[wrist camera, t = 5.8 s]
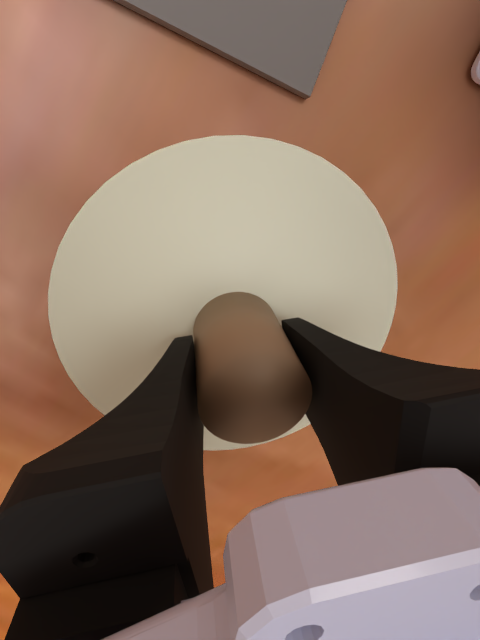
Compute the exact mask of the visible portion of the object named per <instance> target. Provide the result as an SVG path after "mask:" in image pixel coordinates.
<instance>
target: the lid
mask: <svg viewBox="0 0 480 640" xmlns="http://www.w3.org/2000/svg"><path fill="white" fill-rule="evenodd" d="M397 288H398V282H397V265H396V260H395V255H394V250H393V245H392V242H391V240H390V237H389V234H388V231H387V228H386V226H385V224H384V222H383V220H382V218H381V217H380V215H379V213H378V211H377V209H376V207H375V206H374V205H373V203H372V202H371V201H370V199H369V198H368V197H367V196H366V194H365V193H364V192H363V190H362V189H361V188H360V187H359V186H358V185H357V184H356V183H355V182H354V181H353V180H352V179H350V178H349V177H348V176H347V175H346V174H345V173H344V172H343V171H341V170H340V169H338V168H337V167H336V166H334V165H333V164H331V163H330V162H328V161H327V160H325V159H324V158H322V157H320V156H318V155H316V154H314V153H311V152H309V151H307V150H305V149H303V148H301V147H299V146H295V145H292V144H288V143H285V142H282V141H278V140H275V139H270V138H263V137H255V136H247V135H225V136H210V137H204V138H199V139H193V140H187V141H183V142H180V143H177V144H174V145H171V146H168V147H165V148H162V149H159V150H156V151H154V152H153V153H151V154H149V155H147V156H145V157H143V158H141V159H139V160H137V161H135V162H133V163H131V164H130V165H128V166H127V167H125V168H124V169H123V170H121V171H120V172H119V173H117V174H116V175H114V176H113V177H112V178H110V179H109V180H108V181H106V182H105V183H104V184H103V185H102V186H101V187H100V188H99V189H98V190H97V191H96V192H95V193H94V194H93V195H92V196H91V197H90V198H89V199H88V200H87V201H86V203H85V204H84V205H83V207H82V208H81V210H80V211H79V212H78V214H77V215H76V216H75V218H74V219H73V221H72V222H71V223H70V225H69V227H68V229H67V231H66V233H65V235H64V237H63V239H62V241H61V243H60V245H59V247H58V251H57V254H56V257H55V260H54V263H53V266H52V270H51V276H50V283H49V290H48V317H49V323H50V328H51V334H52V339H53V342H54V345H55V347H56V350H57V353H58V356H59V359H60V361H61V362H62V364H63V366H64V368H65V370H66V372H67V374H68V376H69V377H70V379H71V380H72V381H73V383H74V384H75V386H76V387H77V388H78V390H79V391H80V392H81V394H82V395H83V396H84V397H85V398H86V399H87V400H88V401H89V402H90V403H91V404H92V405H93V406H94V407H95V408H96V409H98V410H99V411H100V412H101V413H102V414H104V415H106V414H107V413H109V412H110V411H111V410H113V409H114V408H115V407H116V406H118V405H119V404H120V403H121V402H122V401H123V400H125V399H126V398H127V397H128V396H129V395H130V394H131V393H132V392H133V391H134V390H135V389H136V388H137V387H138V386H139V385H140V384H141V383H142V382H143V380H144V379H145V378H146V377H147V376H148V375H149V373H150V372H151V371H152V370H153V368H154V367H155V366H156V364H157V363H158V362H159V360H160V359H161V357H162V356H163V355H164V353H165V352H166V350H167V349H168V347H169V346H170V344H171V343H172V341H173V340H174V338H177V337H183V336H189V335H192V337H193V342H194V351H195V370H196V387H197V404H198V413H199V417H200V419H201V421H202V423H203V425H204V435H203V450H231V449H238V448H245V447H251V446H255V445H259V444H263V443H267V442H270V441H273V440H276V439H279V438H282V437H285V436H287V435H289V434H291V433H294V432H296V431H298V430H300V429H302V428H304V427H306V426H307V425H309V424H311V423H310V422H309V420H308V418H307V416H306V414H305V413H306V412H307V410H308V408H309V406H310V403H311V399H312V385H311V381H310V379H309V376H308V374H307V373H306V371H305V369H304V367H303V365H302V363H301V362H300V360H299V358H298V356H297V354H296V352H295V350H294V349H293V347H292V345H291V343H290V341H289V339H288V338H287V336H286V334H285V332H284V330H283V328H282V320H285V319H291V318H297V317H299V318H301V319H304V320H306V321H308V322H310V323H312V324H314V325H316V326H318V327H320V328H322V329H324V330H326V331H328V332H330V333H332V334H335V335H337V336H339V337H341V338H344V339H346V340H348V341H351V342H353V343H356V344H358V345H361V346H364V347H366V348H369V349H373V350H376V351H379V352H380V351H381V349H382V347H383V345H384V343H385V341H386V339H387V336H388V333H389V330H390V327H391V325H392V321H393V316H394V312H395V307H396V299H397Z"/></svg>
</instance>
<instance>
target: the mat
mask: <svg viewBox="0 0 480 640" xmlns="http://www.w3.org/2000/svg"><path fill="white" fill-rule="evenodd" d="M113 1H115V2H117V3H119V4H121V5H123V6H125V7H127V8H129V9H131V10H133V11H135V12H137V13H139V14H141V15H143V16H145V17H147V18H149V19H150V20H152V21H154V22H156V23H158V24H160V25H162V26H164V27H166V28H168V29H170V30H172V31H174V32H176V33H178V34H180V35H182V36H184V37H186V38H187V39H189V40H191V41H193V42H195V43H197V44H199V45H201V46H203V47H205V48H207V49H209V50H211V51H213V52H215V53H217V54H219V55H221V56H223V57H224V58H226V59H228V60H230V61H232V62H234V63H236V64H238V65H240V66H242V67H244V68H246V69H248V70H250V71H252V72H254V73H256V74H258V75H259V76H261V77H263V78H265V79H267V80H269V81H271V82H273V83H275V84H277V85H279V86H281V87H283V88H285V89H287V90H289V91H291V92H293V93H295V94H296V95H298V96H300V97H302V98H304V99H307V98H308V97H310V96H311V93H312V90H313V88H314V85H315V83H316V80H317V77H318V75H319V72H320V70H321V67H322V64H323V62H324V59H325V57H326V54H327V51H328V49H329V46H330V44H331V41H332V38H333V36H334V33H335V31H336V28H337V25H338V23H339V20H340V17H341V15H342V12H343V10H344V7H345V4H346V2H347V0H113Z"/></svg>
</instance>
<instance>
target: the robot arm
mask: <svg viewBox="0 0 480 640" xmlns="http://www.w3.org/2000/svg"><path fill="white" fill-rule="evenodd" d="M471 77H472V79H473V81H474V82H476V83H477V84H479V85H480V52H479V54H478V56H477V58H476V59H475V61H474V63H473V66H472V68H471ZM282 328H283V330H284V332H285V334H286V336H287V338H288V339H289V341H290V343H291V345H292V347H293V349H294V350H295V352H296V354H297V356H298V358H299V360H300V362H301V363H302V365H303V367H304V369H305V371H306V373H307V374H308V376H309V379H310V381H311V385H312V399H311V403H310V406H309V408H308V410H307V412H306V413H305V414H306V416H307V418H308V420H309V422H310V423H311V425H312V427H313V429H314V431H315V433H316V435H317V436H318V438H319V441H320V443H321V445H322V447H323V449H324V451H325V454H326V456H327V459H328V461H329V464H330V466H331V469H332V471H333V474H334V476H335V479H336V481H337V484H338V486H335V487H330V488H325V489H321V490H316V491H311V492H307V493H302V494H297V495H293V496H288V497H283V498H280V499H278V500H275V501H273V502H270V503H268V504H265V505H263V506H260V507H258V508H255V509H253V510H251V511H250V512H249V513H248V514H247V515H246V516H245V517H244V518H243V519H242V520H241V521H240V522H239V523H238V524H237V525H236V526H235V527H234V528H233V529H232V530H231V531H230V532H229V533H228V535H227V540H226V545H225V549H224V554H223V559H224V570H225V580H226V583H224V584H222V585H220V586H218V587H216V588H214V587H213V577H212V566H211V556H210V545H209V535H208V523H207V512H206V501H205V488H204V476H203V435H204V425H203V423H202V421H201V419H200V417H199V413H198V404H197V387H196V370H195V351H194V342H193V337H192V335H189V336H183V337H177V338H174V340H173V341H172V343H171V344H170V346H169V347H168V349H167V350H166V352H165V353H164V355H163V356H162V357H161V359H160V360H159V362H158V363H157V364H156V366H155V367H154V368H153V370H152V371H151V372H150V373H149V375H148V376H147V377H146V378H145V379H144V380H143V382H142V383H141V384H140V385H139V386H138V387H137V388H136V389H135V390H134V391H133V392H132V393H131V394H130V395H129V396H128V397H127V398H126V399H125V400H123V401H122V402H121V403H120V404H119V405H118V406H116V407H115V408H114V409H113V410H111V411H110V412H109V413H107V414H106V415H105V416H104V417H102V418H101V419H100V420H99V421H97V422H96V423H94V424H93V425H92V426H90V427H89V428H87V429H86V430H84V431H83V432H81V433H80V434H78V435H76V436H75V437H73V438H72V439H70V440H69V441H67V442H65V443H64V444H62V445H60V446H58V447H56V448H55V449H53V450H51V451H49V452H47V453H46V454H44V455H42V456H40V457H38V458H37V459H35V460H33V461H31V462H29V463H27V464H25V465H23V467H22V468H21V470H20V472H19V473H18V475H17V477H16V478H15V480H14V482H13V484H12V485H11V487H10V489H9V491H8V493H7V495H6V496H5V498H4V500H3V502H2V504H1V506H0V573H1V574H2V575H3V577H4V578H5V579H6V581H7V582H8V583H9V584H10V586H11V587H12V588H13V590H14V591H15V592H16V593H17V595H18V596H19V597H20V601H19V603H18V606H17V608H16V611H15V614H14V616H13V619H12V621H11V624H10V627H9V629H8V632H7V635H6V637H5V640H480V370H477V369H465V368H457V367H450V366H442V365H435V364H430V363H424V362H419V361H414V360H410V359H405V358H401V357H397V356H393V355H389V354H386V353H382V352H379V351H376V350H373V349H369V348H366V347H364V346H361V345H358V344H356V343H353V342H351V341H348V340H346V339H344V338H341V337H339V336H337V335H335V334H332V333H330V332H328V331H326V330H324V329H322V328H320V327H318V326H316V325H314V324H312V323H310V322H308V321H306V320H304V319H301V318H299V317H297V318H291V319H285V320H282Z"/></svg>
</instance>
